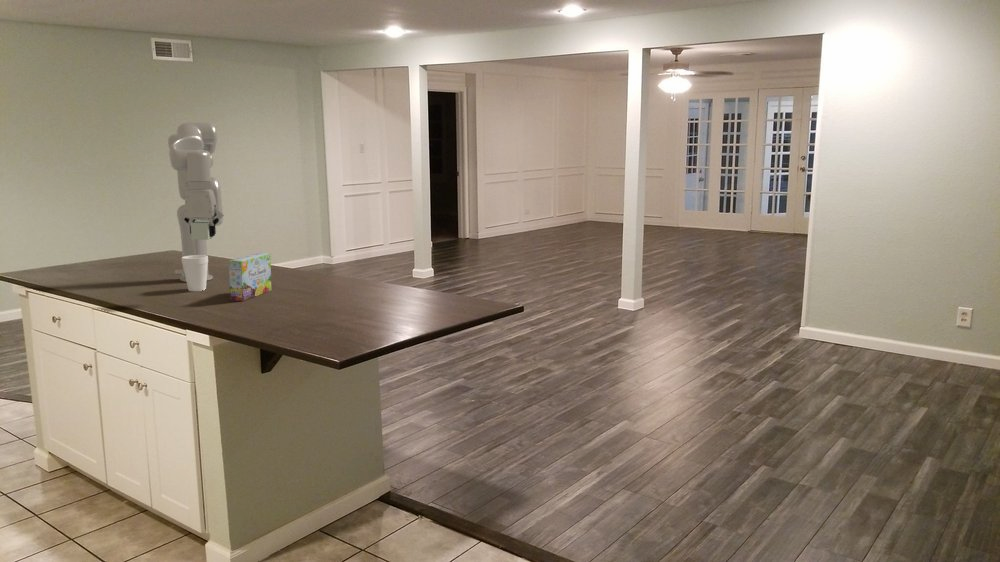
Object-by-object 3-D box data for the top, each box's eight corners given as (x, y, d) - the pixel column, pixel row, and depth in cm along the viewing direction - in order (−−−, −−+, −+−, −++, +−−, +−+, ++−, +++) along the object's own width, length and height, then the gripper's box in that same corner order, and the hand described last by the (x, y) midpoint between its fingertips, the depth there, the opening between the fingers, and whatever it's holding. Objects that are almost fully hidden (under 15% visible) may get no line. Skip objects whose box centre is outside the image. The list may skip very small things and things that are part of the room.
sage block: (191, 239, 267) (190, 222, 266) (198, 236, 273) (197, 220, 272) (208, 239, 267) (207, 223, 266) (214, 237, 273) (213, 220, 272)
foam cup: (178, 290, 289) (176, 257, 286) (198, 286, 297) (196, 254, 295) (195, 293, 284) (193, 259, 282) (215, 288, 293) (213, 256, 290)
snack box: (243, 301, 270) (241, 260, 267) (229, 301, 271) (227, 260, 268) (272, 290, 290) (270, 252, 287) (259, 290, 291) (257, 251, 289)
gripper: (171, 186, 263) (175, 237, 266) (219, 187, 262) (222, 238, 266) (180, 185, 270) (184, 234, 274) (227, 185, 270) (230, 235, 273)
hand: (203, 235), depth 270 cm, fingers closed on sage block, 6 cm apart
